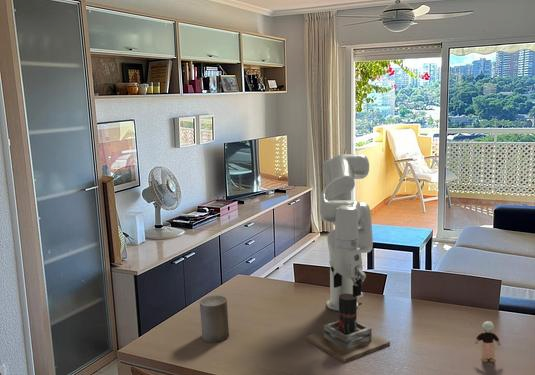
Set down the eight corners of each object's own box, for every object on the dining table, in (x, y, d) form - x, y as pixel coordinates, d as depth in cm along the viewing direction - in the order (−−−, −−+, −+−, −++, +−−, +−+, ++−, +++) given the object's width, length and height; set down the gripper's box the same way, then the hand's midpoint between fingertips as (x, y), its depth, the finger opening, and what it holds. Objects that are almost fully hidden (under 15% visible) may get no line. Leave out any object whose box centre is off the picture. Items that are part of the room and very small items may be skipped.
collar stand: (350, 324, 193) (350, 310, 192) (389, 345, 176) (390, 329, 175) (306, 339, 182) (306, 324, 181) (344, 362, 166) (344, 346, 165)
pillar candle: (233, 332, 190) (231, 292, 187) (222, 344, 180) (219, 303, 178) (209, 329, 193) (206, 290, 190) (197, 341, 184) (194, 300, 181)
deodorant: (356, 342, 176) (356, 300, 173) (338, 341, 177) (338, 299, 174) (356, 335, 181) (356, 293, 179) (339, 334, 182) (339, 293, 180)
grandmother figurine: (495, 356, 166) (497, 318, 164) (501, 362, 163) (503, 323, 160) (471, 357, 166) (473, 319, 164) (477, 363, 162) (478, 325, 160)
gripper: (373, 246, 168) (373, 296, 171) (338, 234, 182) (339, 280, 186) (355, 251, 164) (356, 302, 167) (321, 238, 178) (322, 285, 182)
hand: (347, 291), depth 177 cm, fingers open, 9 cm apart
